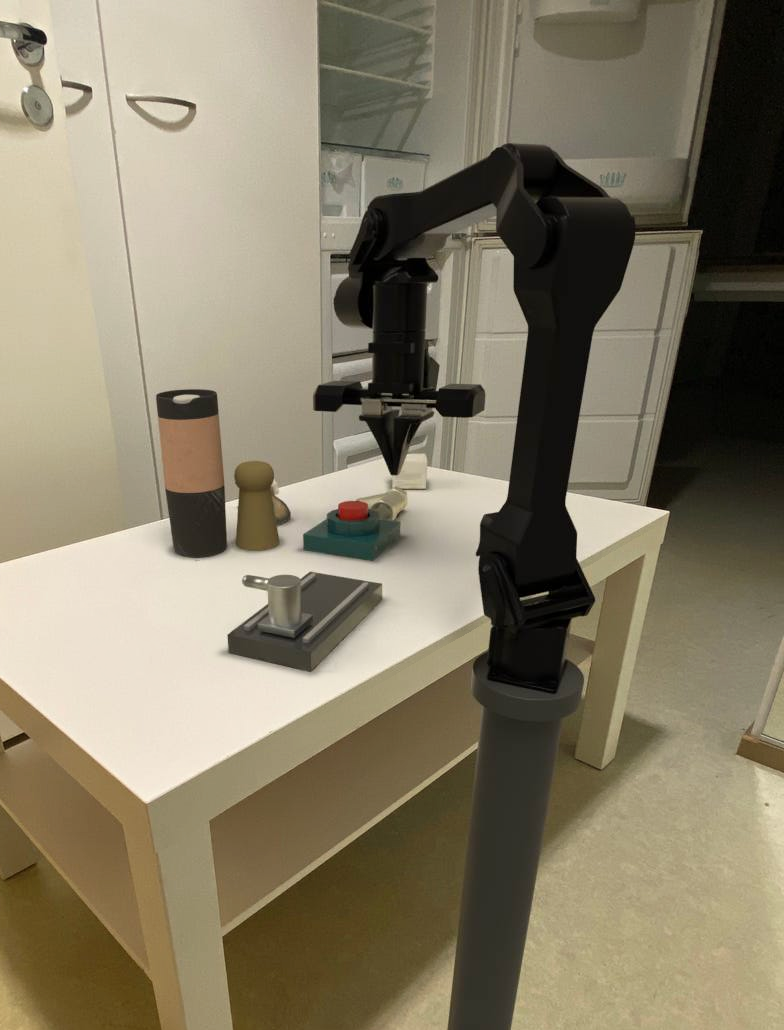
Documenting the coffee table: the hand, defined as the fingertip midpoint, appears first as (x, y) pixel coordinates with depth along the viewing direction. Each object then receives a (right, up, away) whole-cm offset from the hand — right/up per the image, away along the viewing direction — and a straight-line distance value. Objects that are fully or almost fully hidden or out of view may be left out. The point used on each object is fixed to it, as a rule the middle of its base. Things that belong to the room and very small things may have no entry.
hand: (395, 474), depth 86 cm
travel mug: (-25, -7, +13) cm, 29 cm away
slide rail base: (-10, -18, -9) cm, 22 cm away
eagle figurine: (-17, -1, +25) cm, 30 cm away
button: (-4, -3, +11) cm, 12 cm away
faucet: (-14, -18, -14) cm, 27 cm away
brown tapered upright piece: (-17, -6, +14) cm, 23 cm away
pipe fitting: (0, -1, +23) cm, 23 cm away
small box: (+7, +7, +39) cm, 40 cm away
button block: (-4, -6, +13) cm, 15 cm away
